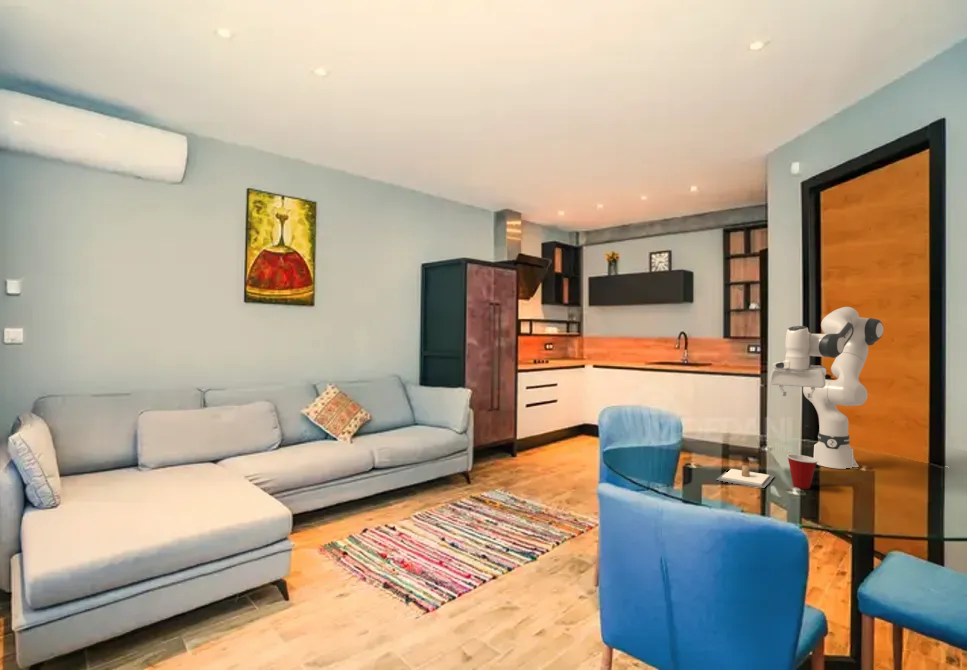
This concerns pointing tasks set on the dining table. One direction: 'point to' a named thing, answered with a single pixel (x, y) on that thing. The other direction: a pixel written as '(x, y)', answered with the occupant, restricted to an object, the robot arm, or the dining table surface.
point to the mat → (746, 483)
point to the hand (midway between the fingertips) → (796, 396)
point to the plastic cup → (801, 470)
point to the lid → (746, 476)
